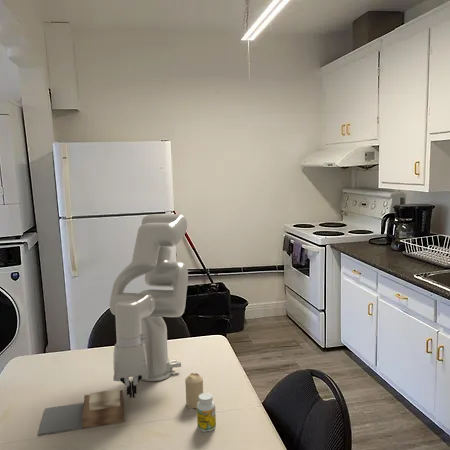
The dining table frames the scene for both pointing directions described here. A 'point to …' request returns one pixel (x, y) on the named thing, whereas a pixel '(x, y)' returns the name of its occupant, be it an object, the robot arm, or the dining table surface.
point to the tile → (104, 399)
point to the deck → (102, 414)
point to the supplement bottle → (206, 412)
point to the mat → (61, 419)
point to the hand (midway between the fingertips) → (132, 395)
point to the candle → (193, 389)
